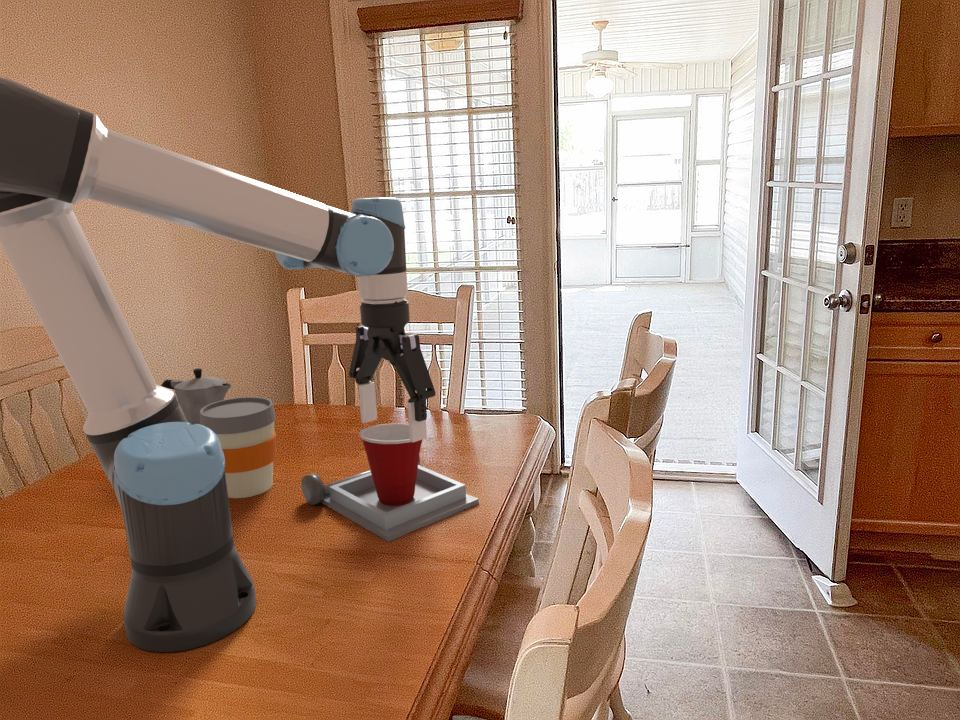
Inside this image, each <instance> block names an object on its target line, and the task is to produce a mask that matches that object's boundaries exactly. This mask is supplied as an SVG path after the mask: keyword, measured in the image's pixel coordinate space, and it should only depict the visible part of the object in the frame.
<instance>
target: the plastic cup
mask: <svg viewBox="0 0 960 720" xmlns="http://www.w3.org/2000/svg"><path fill="white" fill-rule="evenodd" d="M358 435H359V437H360V438H361V441H362V443H363V444H362V445H363V447H364V451H365V453H366V457H367V461H368V464H369V465H368V466H369V470H371V474H372V478H373V482H374V484H375V488H376V492H377V496H378V498H379V501H380V502H381V503H382V504H384V505H388V506H399V505H404V504H407V503H409V502H411V501H412V500H413V497H414V493H415V483H416V478H417V470H418V461H419V456H420V452H421V448H422V444H423V440H424V439H422V440H419V441H416V442H410V433H409V423H383V424H376V425H369V426H367V427H365V428H362V429H360V431H359V433H358Z"/></svg>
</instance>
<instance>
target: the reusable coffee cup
mask: <svg viewBox="0 0 960 720" xmlns="http://www.w3.org/2000/svg"><path fill="white" fill-rule="evenodd" d="M276 419H277V417H276V412H275V407H274V403H273V401H272V399H269V398H266V397H262V396H261V397H260V396H240V397H233V398H227V399H223V400H222V401H218V402H214V403H211V404H209V405H207V406H205V407H203V408H202V409H201V410H200V425H203V426H205V427H207V428H209V429H211V430H212V431H213V432H214V433H215V434H216V435H217V436H218V438H219V441H220V444H221V449H222V451H223V453H224V457H225V467H224V468H225V476H226V484H227V491H228V499H245V498H246V499H247V498H250V497H251V498H252V497H255V496H257V495H261V494H264V493H266V492H268V491H269V490H270V489H271V488H272V487H273V483H274V480H273V479H274V476H273V475H274V461H275V460H276V458H277V457H276V456H277V455H276V454H277V453H276V452H277V432H276V430H275V421H276Z"/></svg>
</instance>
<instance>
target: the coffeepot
mask: <svg viewBox="0 0 960 720" xmlns="http://www.w3.org/2000/svg"><path fill="white" fill-rule="evenodd" d="M192 371H193V374H194V375H193V376H194V377H193V378H190V379H187V380H183V379H165V380H164V381H163V382H162V383H161V385H160V386H162V387H165V388H168V389H171V390H172V391H174V394H175V396H176V398H177V400H178V402H179V405H180V407H181V409H182V411H183V413H184V415H185V417H186V419H187V421H188V422H189V423H191V425H194V424H200V410H201V409H202V408H203V407H205V406H207V405H209V404H211V403H214V402H218V401H222V400H225V398H226V395H227V393H228V391H229V389H231V388H232V385H231V383H229V382H226V381H225V379H224V378H218V377H212V376H203V374H202V372H203V369H202V368H195V369H193V370H192Z"/></svg>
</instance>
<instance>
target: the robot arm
mask: <svg viewBox="0 0 960 720" xmlns="http://www.w3.org/2000/svg"><path fill="white" fill-rule="evenodd" d="M88 199H89V200H92V201H94V202H98V203H102V204H106V205H110V206H113V207H115V208H116V207H117V208H119V209H124V210H127V211H130V212H134V213H137V214H141V215H144V216H148V217H152V218H154V219H158V220H160V221H161V220H162V221H165V222H168V223H172V224H175V225H179V226H183V227H187V228H190V229H192V230H196V231H199V232H200V231H201V232H203V233H207V234H210V235H214V236H218V237H221V238H224V239H228V240H232V241H235V242H238V243H242V244H246V245H249V246H253V247H256V248H259V249H263V250H267V251H270V252H273V253H274V254H275V258H276V259H277V262H278V264H279V265H280V266H281V267H282V268H284V269H285V270H300V271H301V270H302V271H304V270H305V269H313V268H314V269H316V268H317V269H323V270H327V271H333V272H339V273H343V274H348V275H351V276H354V277H357V287H358V297H359V300H362V301H361V302H360V304H359V308H360V309H359V311H360V312H359V314H360V322H361V325H358V326H356V327H355V343H354V348H353V354H352V357H351V361H350V365H349V370H348V376H349V378H350V379H354V382H355V383H356V384H357V388H358V399H359V407H360V409H359V410H360V411H359V412H360V423H362V424H368V423H370V422H374V421H377V420H378V411H377V409H378V407H377V396H376V394H377V393H376V383H375V382H374V381H375V377H374V375H375V372H376V371H377V369H378V367H379V364H380V362H381V361H382V359H383V360H385V361H388V362H389V364H390V365H391V366H394V368H395V370H396V372H397V374H398V376H399V378H400V380H401V382H402V384H403V386H404V388H405V390H406V392H407V394H408V396H409V399H408V400H407V411H408V413H407V414H408V415H407V416H408V424H409V433H410V442H416V441H419V440H422V439H423V440H424V439H425V440H426V439H427V438H428V437H427V436H428V433H427V419H428V418H427V417H428V414H427V412H428V411H427V399H430V398H434V397H435V396H436V390H435V386H434V384H433V381H432V379H431V376H430V372H429V370H428V367H427V364H426V361H425V358H424V354H423V352H422V349H421V344H420V343H421V342H420V336H419V334H418V333H413V334H408V335H407V334H406V331H405V327H406V325H407V324H409V323H410V321H411V320H410V318H411V317H410V303H409V301H408V300H407V299H406V298H407V296H408V295H409V292H408V278H407V277H408V276H407V262H406V261H407V258H406V257H407V256H406V252H407V251H406V237H405V236H406V235H405V230H406V225H405V219H404V210H403V205H402V202H401V201H400V199H399V198H397V197H393V196H388V197H387V196H386V197H363V198H362V197H361V198H360V197H359V198H355V199H354V200H353V201H352V205H351V206H352V207H351V211H346V210H344V209H343V210H342V209H339V208H336V207H334V206H330V205H326V204H325V203H322V202H319V201H317V200H313V199H311V198H309V197H305V196H302V195H299V194H296V193H293V192H290V191H288V190H285V189H282V188H279V187H276V186H273V185H270V184H268V183H265V182H262V181H259V180H256V179H253V178H251V177H247V176H244V175H241V174H238V173H236V172H232V171H230V170H227V169H224V168H221V167H218V166H215V165H212V164H210V163H206V162H204V161H201V160H197V159H196V158H192V157H189V156H186V155H183V154H181V153H178V152H175V151H172V150H169V149H167V148H164V147H161V146H157V145H155V144H152V143H148V142H146V141H142V140H140V139H137V138H134V137H131V136H129V135H126V134H122V133H121V132H117V131H114V130H111V129H108V128H106V127H105V125H104V124H103V123H102V122H101V119H100V118H99V116H98V115H97V113H93V112H91V111H90V112H89V111H87V110H84V109H81V108H79V107H76V106H73V105H71V104H68V103H66V102H64V101H62V100H59V99H56V98H53V97H52V96H49V95H47V94H44V93H42V92H39V91H37V90H35V89H33V88H31V87H29V86H26V85H24V84H22V83H19V82H17V81H15V80H13V79H9V78H6V77H2V76H0V246H1V248H2V250H3V252H4V254H5V256H6V258H7V260H8V262H9V264H10V265H11V268H12V269H13V271H14V273H15V275H16V277H17V280H18V281H19V283H20V284H21V286H22V288H23V290H24V292H25V294H26V296H27V298H28V299H29V301H30V303H31V305H32V307H33V310H35V311H34V312H35V313H36V314H37V316H38V319H39V320H40V322H41V324H42V326H43V329H44V330H45V332H46V333H47V336H48V337H49V340H50V341H51V343H52V345H53V347H54V349H55V351H56V353H57V355H58V356H59V359H60V360H61V362H62V364H63V366H64V368H65V370H66V372H67V374H68V375H69V377H70V380H71V382H72V384H73V385H74V387H75V389H76V391H77V394H78V395H79V396H80V399H81V400H82V402H83V404H84V406H85V408H86V410H87V412H88V413H87V414H88V415H87V418H86V419H85V422H84V423H83V426H82V432H84V434H85V436H86V438H87V440H88V442H89V444H90V446H91V448H92V450H93V451H94V453H95V454H94V455H96V457H97V459H98V461H99V463H100V464H101V467H102V470H103V473H104V474H105V475H106V477H107V479H108V481H109V482H110V484H111V487H112V489H113V492H114V494H115V496H116V498H117V501H118V503H119V506H120V509H121V513H122V519H123V523H124V529H125V537H126V542H127V546H128V547H127V548H128V554H129V558H130V559H129V560H130V564H131V575H130V580H129V586H128V589H127V595H126V599H125V605H124V610H123V623H124V628H125V635H126V638H127V640H128V641H129V642H130V643H131V644H132V645H133V646H135V647H137V648H138V649H140V650H145V651H148V652H155V653H173V652H181V651H186V650H187V651H188V650H192V649H196V648H199V647H202V646H205V645H209V644H212V643H214V642H216V641H218V640H221V639H222V638H225V637H226V636H229V635H230V634H231V633H234V632H235V631H237V630H238V629H239V628H240V627H242V626H243V625H244V624H245V623H246V622H247V621H248V620H249V619H250V618H251V616H252V615H253V613H254V611H255V609H256V606H257V597H256V596H257V595H256V588H255V587H256V586H255V584H254V581H253V579H252V576H251V574H250V573H249V571H248V569H247V567H246V566H245V563H244V562H243V560H242V558H241V556H240V554H239V553H238V551H237V549H236V547H235V542H234V541H235V540H234V534H233V533H234V532H233V526H232V525H233V524H232V518H231V516H232V515H231V510H230V509H231V507H230V501H229V499H230V498H228V491H227V484H226V476H225V468H224V467H225V457H224V453H223V451H222V449H221V444H220V441H219V438H218V436H217V435H216V434H215V433H214V432H213V431H212V430H211V429H209V428H207V427H205V426H203V425H200V424H194V425H191V423H189V422H188V421H187V419H186V417H185V415H184V413H183V411H182V409H181V407H180V405H179V402H178V399H177V396H176V393H175V391H174V390H173V389H168V388H165V387H162V386H161V385H160V384H159V385H158V384H157V383H156V380H155V378H154V376H153V375H152V373H151V371H150V368H149V367H148V363H147V362H146V360H145V357H144V355H143V354H142V351H141V350H140V347H139V346H138V344H137V341H136V339H135V337H134V335H133V333H132V330H131V328H130V327H129V324H128V322H127V321H126V318H125V316H124V314H123V312H122V310H121V308H120V305H119V303H118V302H117V300H116V298H115V295H114V293H113V291H112V288H111V287H110V285H109V283H108V281H107V279H106V276H105V274H104V273H103V269H102V267H101V266H100V264H99V262H98V260H97V257H96V256H95V254H94V251H93V249H92V248H91V245H90V243H89V241H88V239H87V237H86V235H85V233H84V230H83V228H82V227H81V224H80V222H79V221H78V218H77V216H76V214H75V212H74V205H75V204H79V202H82V201H84V200H88ZM423 440H422V441H423Z"/></svg>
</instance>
